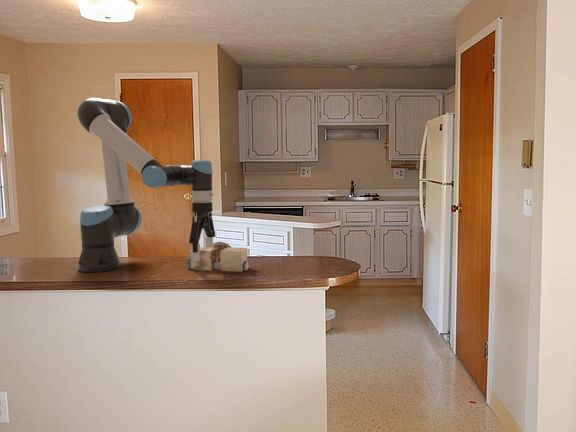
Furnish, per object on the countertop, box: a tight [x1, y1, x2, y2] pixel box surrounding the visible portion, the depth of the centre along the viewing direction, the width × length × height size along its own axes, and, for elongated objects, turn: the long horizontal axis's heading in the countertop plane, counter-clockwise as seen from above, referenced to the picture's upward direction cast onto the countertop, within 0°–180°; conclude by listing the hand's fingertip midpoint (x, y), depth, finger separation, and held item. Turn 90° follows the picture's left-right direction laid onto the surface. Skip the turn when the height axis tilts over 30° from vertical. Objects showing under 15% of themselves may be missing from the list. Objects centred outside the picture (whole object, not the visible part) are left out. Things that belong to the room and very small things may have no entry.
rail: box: [186, 247, 249, 273], centre depth 196 cm, size 23×7×8 cm, turn 78°
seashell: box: [213, 241, 232, 261], centre depth 213 cm, size 10×9×10 cm
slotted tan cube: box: [189, 246, 219, 272], centre depth 197 cm, size 9×7×8 cm
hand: (203, 257), depth 197 cm, fingers open, 13 cm apart
